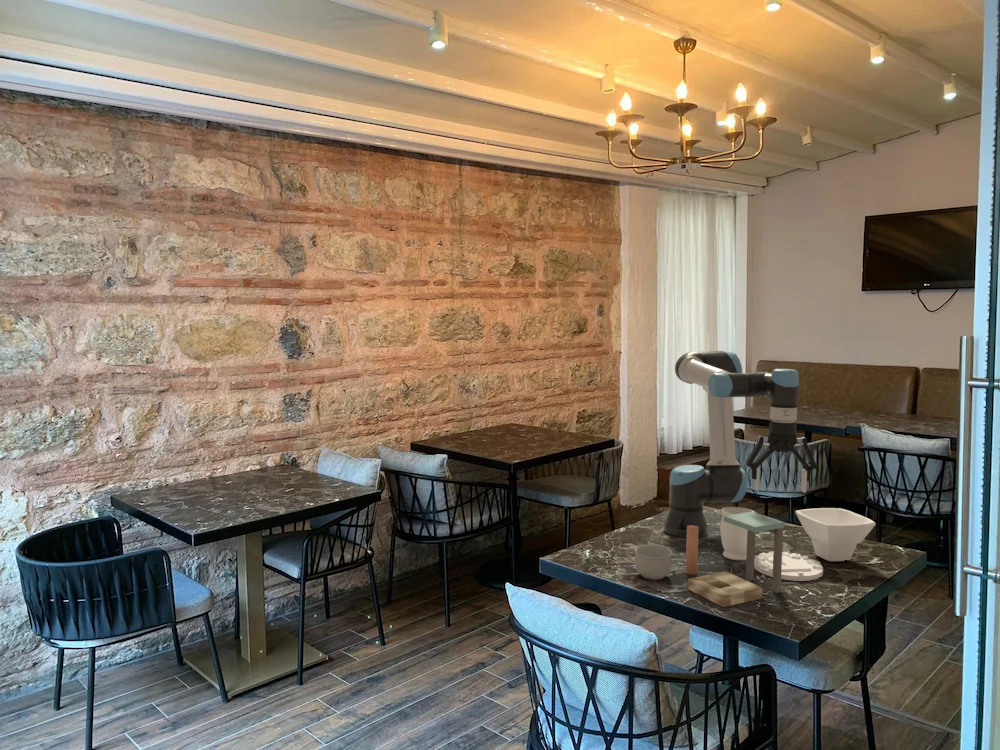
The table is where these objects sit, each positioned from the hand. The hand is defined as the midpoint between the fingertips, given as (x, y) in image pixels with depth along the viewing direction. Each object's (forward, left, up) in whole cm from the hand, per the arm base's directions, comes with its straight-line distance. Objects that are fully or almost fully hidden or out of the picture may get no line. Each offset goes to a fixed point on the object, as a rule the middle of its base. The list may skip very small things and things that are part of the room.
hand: (779, 490), depth 222 cm
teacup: (-14, -38, -25) cm, 47 cm away
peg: (-10, -25, -25) cm, 36 cm away
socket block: (+7, -28, -25) cm, 38 cm away
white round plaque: (+1, +3, -25) cm, 26 cm away
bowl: (0, +24, -25) cm, 35 cm away
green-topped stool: (+7, -18, -25) cm, 31 cm away
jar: (-15, -2, -25) cm, 29 cm away
